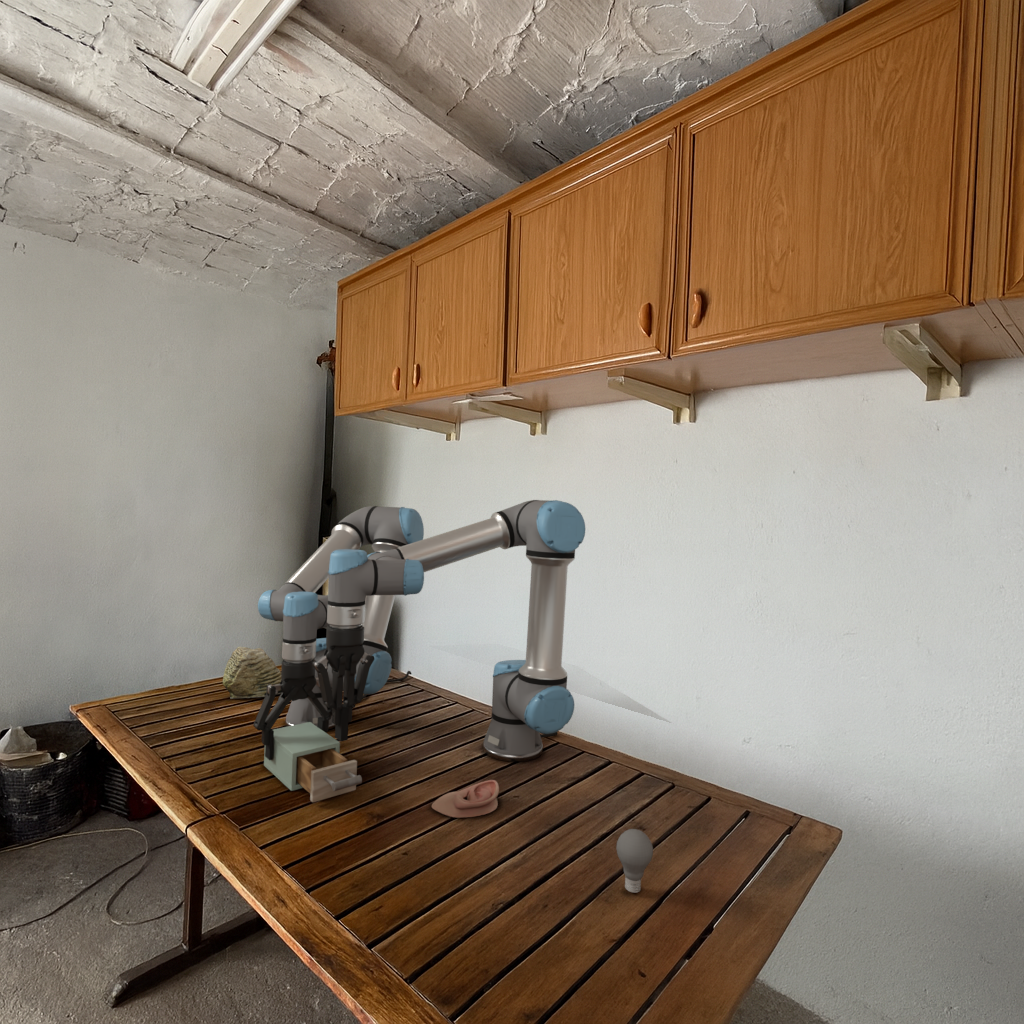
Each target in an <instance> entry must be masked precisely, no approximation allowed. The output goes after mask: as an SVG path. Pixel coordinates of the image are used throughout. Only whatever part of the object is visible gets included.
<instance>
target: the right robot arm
mask: <svg viewBox="0 0 1024 1024" xmlns="http://www.w3.org/2000/svg"><path fill="white" fill-rule="evenodd" d="M585 536H586V523H585V519H584V516H583V515H582V513H581V512H580V511H579V509H578V508H577V507H576V506H574V505H573V504H572V503H570V502H566V501H563V500H557V499H555V500H554V499H553V500H550V499H549V500H547V499H546V500H543V499H531V500H526V501H523V502H521V503H518V504H515V505H513V506H510V507H507V508H504V509H502V510H499V511H496V512H493V513H492V514H491V516H490V517H489V518H487V519H483V520H480V521H477V522H474V523H471V524H468V525H465V526H462V527H458V528H456V529H452V530H449V531H446V532H443V533H439V534H435V535H433V536H430V537H427V538H423V540H420V541H417V542H414V543H411V544H408V545H405V546H401V547H398V548H396V549H392V550H389V551H386V552H375V551H374V552H371V553H369V554H368V552H367V551H366V550H363V549H358V550H352V549H340V550H335V551H333V552H332V553H331V555H330V564H329V571H328V573H329V578H328V579H327V580H328V582H327V583H328V584H327V595H328V608H327V623H328V624H329V626H328V627H326V633H325V634H326V635H325V636H326V637H325V638H326V646H327V647H326V650H325V652H324V657H323V658H321V659H320V660H319V661H314V662H313V667H314V668H315V670H316V671H317V674H318V679H319V684H320V689H321V694H322V699H323V704H324V705H325V706H327V707H329V708H332V723H333V724H335V728H334V739H336V740H337V741H338V742H344V741H348V738H349V723H351V722H352V720H353V709H355V707H356V704H359V703H361V702H362V701H363V699H362V697H363V695H364V694H363V693H364V689H365V685H366V681H367V677H368V673H369V669H370V666H371V664H372V663H373V661H374V656H372V655H369V654H367V653H365V649H364V647H363V642H364V627H363V625H361V624H363V623H364V620H365V599H366V596H367V595H370V596H373V595H395V596H409V595H417V594H420V593H421V592H422V590H423V589H424V588H423V587H424V583H425V573H426V572H430V571H432V570H435V569H438V568H442V567H444V566H447V565H450V564H453V563H456V562H459V561H463V560H465V559H468V558H471V557H474V556H477V555H480V554H483V553H487V552H489V551H492V550H495V549H498V548H501V549H502V550H508V549H512V548H515V547H522V546H523V547H525V556H526V558H527V559H528V561H529V562H530V563H531V564H530V565H531V569H530V585H529V598H528V599H529V600H528V618H527V635H526V651H525V659H510V660H509V659H507V660H506V659H505V660H502V661H498V662H496V664H495V665H494V667H493V672H492V673H493V674H492V698H491V699H492V700H491V701H492V702H491V719H490V721H489V725H488V728H487V731H486V733H485V736H484V739H483V742H482V743H483V747H482V750H483V752H484V753H485V754H486V756H489V757H490V758H492V759H495V760H499V761H502V762H511V763H522V762H528V761H532V760H536V759H538V758H539V757H540V756H542V754H543V747H544V745H543V740H542V739H544V738H551V737H555V736H558V732H559V731H561V730H562V729H563V728H564V727H565V726H566V725H568V723H569V722H570V720H572V717H573V715H574V711H575V699H574V696H573V694H572V693H571V691H570V690H569V689H567V688H568V687H567V686H568V672H567V671H566V670H565V668H564V667H563V666H562V663H563V650H564V649H563V647H564V633H565V632H564V631H565V615H566V600H567V584H568V569H569V565H570V564H571V563H572V562H573V561H575V559H576V550H577V549H578V548H579V547H580V545H581V544H582V543H583V542H584V539H585ZM359 661H361V662H360V664H359V668H358V672H357V676H356V680H355V674H356V666H357V664H358V663H359ZM327 662H328V663H329V665H330V666H331V667H332V674H333V678H332V691H331V686H330V681H329V676H328V672H327V670H326V669H327V668H328V667H327ZM343 677H344V691H343ZM342 704H344V705H342Z"/></svg>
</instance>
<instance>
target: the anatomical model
mask: <svg viewBox="0 0 1024 1024" xmlns="http://www.w3.org/2000/svg"><path fill="white" fill-rule="evenodd" d="M499 793H500V786H499V782H498V781H497V780H495V779H489V780H485V781H481V782H478V783H475V784H472V785H470V786H467V787H466V788H463V789H461V790H458V791H451V792H447V793H445V794H443V795H442V796H440V797H438V798H437V799H435V800H434V801H433V803H432V804H431V808H432V810H434V811H436V812H438V813H439V814H442V815H444V816H447V817H451V818H454V819H455V818H457V819H459V818H460V819H461V818H463V819H464V818H474V817H480V816H484V815H487V814H490V813H492V812H494V811H495V810H496V809H498V806H499V805H498V804H499V803H498V802H499V801H498V796H499Z"/></svg>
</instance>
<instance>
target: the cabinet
mask: <svg viewBox="0 0 1024 1024" xmlns="http://www.w3.org/2000/svg"><path fill="white" fill-rule="evenodd" d="M272 730H273V731H274V740H273V760H269V759H267V758H266V757H265V750H264V756H263V766H264V767H265V768H266V769H267V770H268V771H269V773H271V774H272V775H274V776H275V777H276V778H277V779H278V780H279V781H280V782H281V783H282V784H283V785H284V786H285V787H286V788H287V789H289V791H291V792H292V791H297V790H301V789H304V788H303V787H302V786H301V785H300V784H299V783H298V782H296V764H297V757H299V756H303V755H307V754H311V753H315V752H319V751H323V750H327V749H334V750H335V751H336V752H338V753H339V754H341V753H340V750H341V741H339V740H338V739H337V738H335V737H333V736H331V735H330V734H328V733H327V732H324V731H323V730H321V729H320V728H318V727H317V726H315V725H314V724H312V723H311V722H307V723H302V724H297V725H293V726H288V727H287V726H284V727H278V728H274V729H272Z"/></svg>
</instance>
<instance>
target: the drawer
mask: <svg viewBox="0 0 1024 1024" xmlns="http://www.w3.org/2000/svg"><path fill="white" fill-rule="evenodd" d="M357 772H358V760H356V759H351V760H348V758H346V757H345V756H344V755H342V754H341V753H340V754H339V753H338V752H336V751H335V750H334V749H327V750H323V751H319V752H315V753H311V754H307V755H303V756H299V757H297V764H296V782H298V783H299V784H300V785H301V786H302V787H303V788H302V789H304V790H305V791H306V792H308V793H309V795H310V797H309V800H310V802H311V803H316V802H319V801H323V800H326V799H330V798H333V797H336V796H339V795H343V794H347V793H350V792H354V791H357V786H358V785H361V784H362V783H363V777H362V775H360V774H358V773H357ZM357 774H358V775H357Z"/></svg>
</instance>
